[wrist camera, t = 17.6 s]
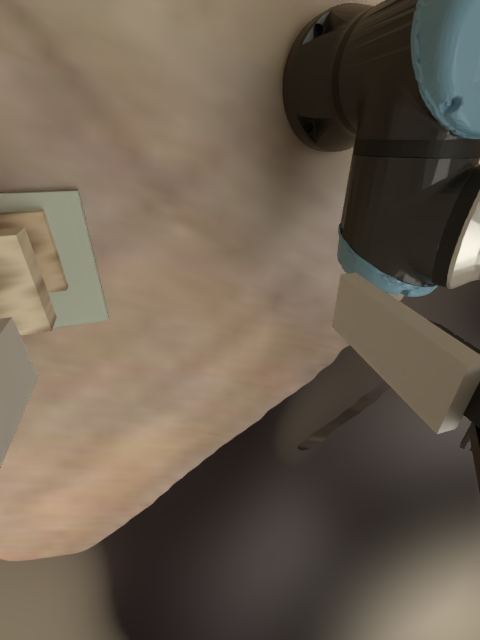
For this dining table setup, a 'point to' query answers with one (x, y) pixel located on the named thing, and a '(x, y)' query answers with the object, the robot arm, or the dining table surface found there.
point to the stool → (29, 271)
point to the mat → (67, 253)
